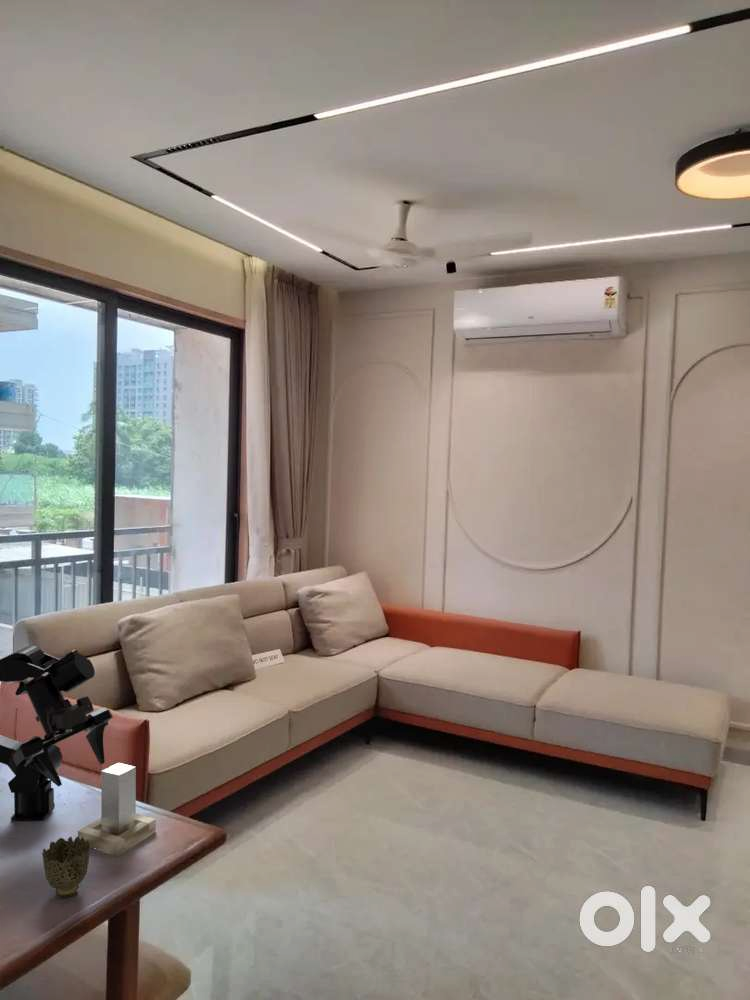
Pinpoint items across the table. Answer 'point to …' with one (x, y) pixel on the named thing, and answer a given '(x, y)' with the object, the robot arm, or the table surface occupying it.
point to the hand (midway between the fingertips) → (82, 774)
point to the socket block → (121, 842)
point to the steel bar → (118, 798)
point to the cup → (66, 865)
